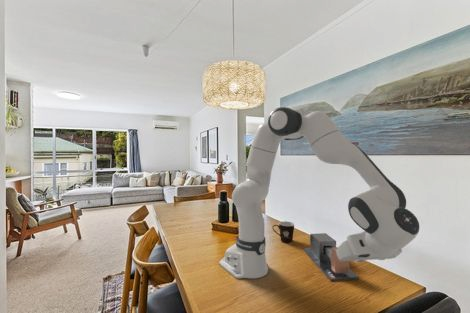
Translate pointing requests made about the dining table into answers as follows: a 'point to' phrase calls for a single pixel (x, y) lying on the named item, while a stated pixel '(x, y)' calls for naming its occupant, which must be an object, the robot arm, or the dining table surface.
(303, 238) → the dining table surface
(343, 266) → the shaft
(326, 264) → the housing
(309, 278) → the dining table surface
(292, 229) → the coffee mug
